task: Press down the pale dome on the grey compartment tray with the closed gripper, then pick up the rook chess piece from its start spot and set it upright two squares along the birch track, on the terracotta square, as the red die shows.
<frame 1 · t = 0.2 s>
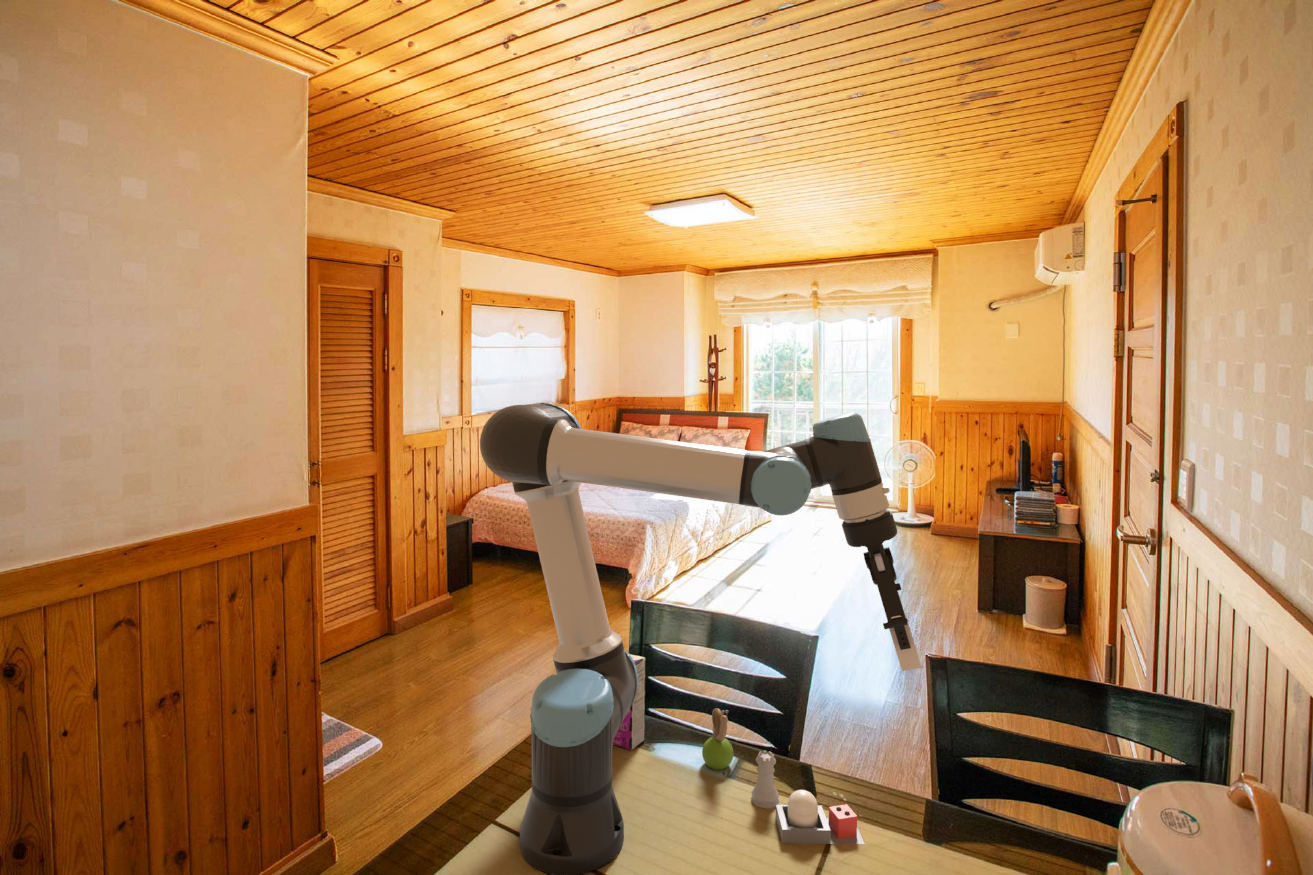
hand: (906, 650, 103), 27 cm above the table, tool tilted 20°, fingers open, 13 cm apart
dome: (802, 806, 102), point 4 cm above the table, slide at 0.0 cm
candy bar box: (613, 739, 130), on the table
game track: (821, 803, 110), on the table
snail figurine: (718, 770, 120), on the table
rook chess piece: (765, 803, 110), on the table
grey compartment tray: (818, 833, 103), on the table
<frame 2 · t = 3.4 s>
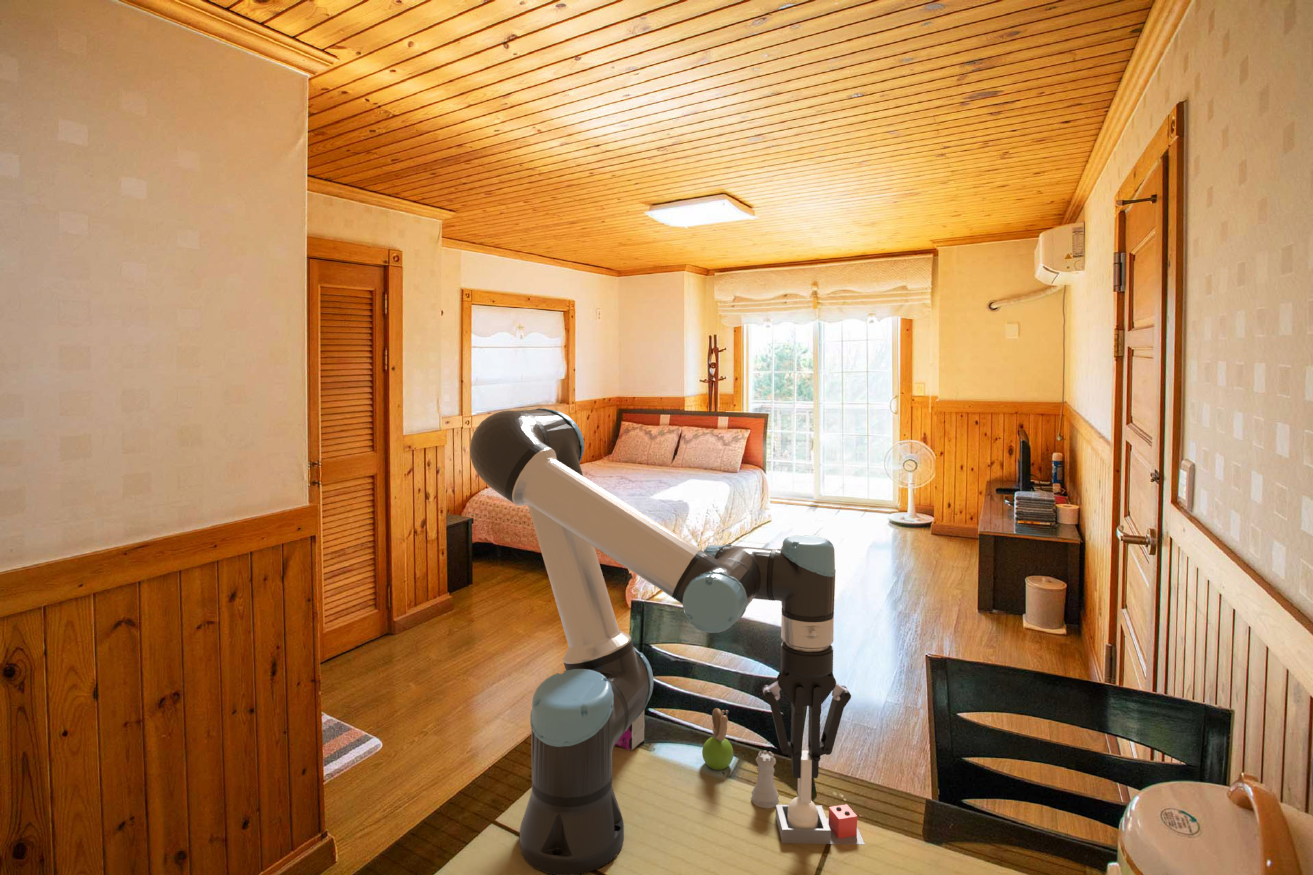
hand: (804, 797, 102), 6 cm above the table, tool pointing down, fingers closed
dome: (802, 812, 103), point 3 cm above the table, slide at 1.0 cm, touching gripper
everything else where it was.
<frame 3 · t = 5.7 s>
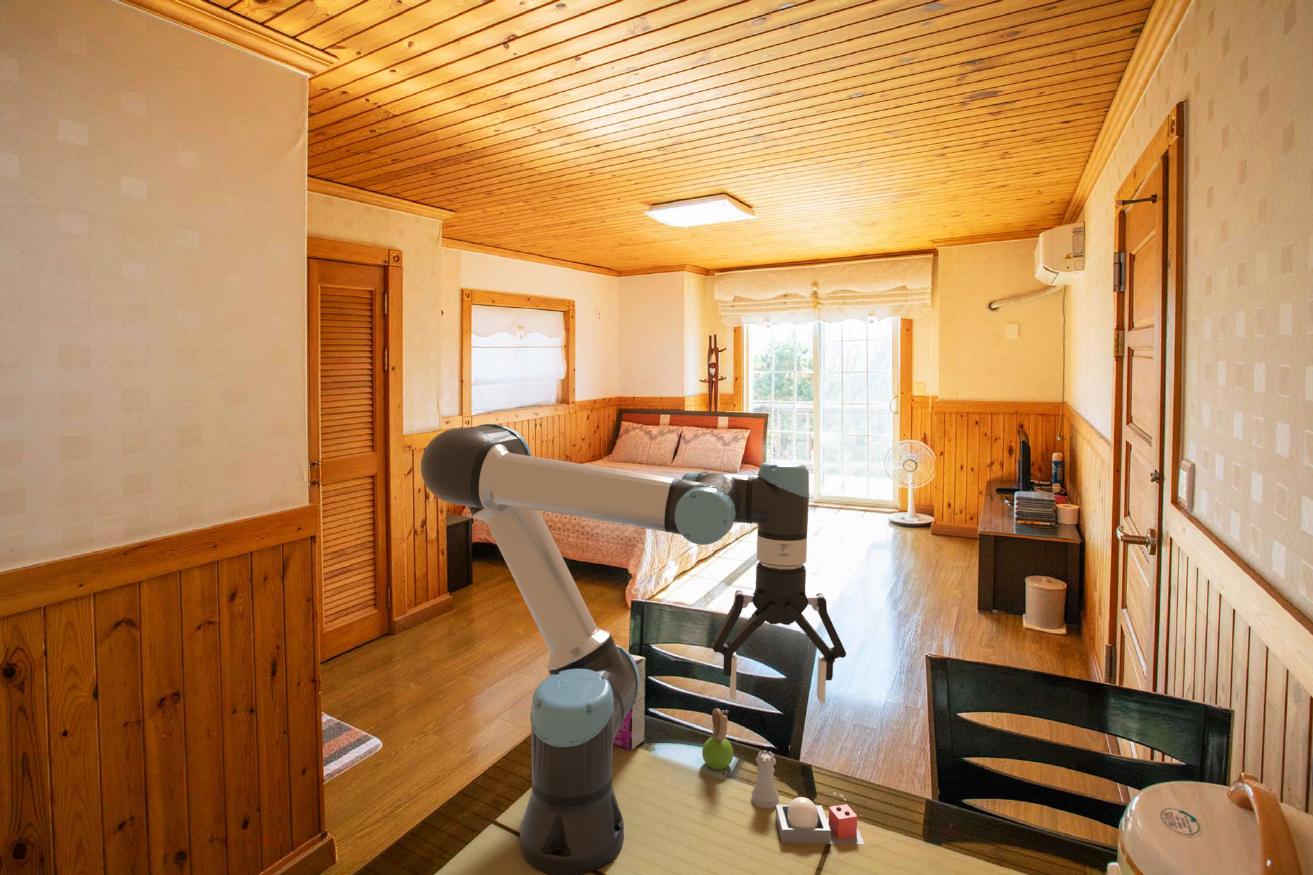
hand: (776, 697, 107), 18 cm above the table, tool pointing down, fingers open, 13 cm apart
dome: (802, 813, 103), point 3 cm above the table, slide at 1.1 cm
everything else where it was.
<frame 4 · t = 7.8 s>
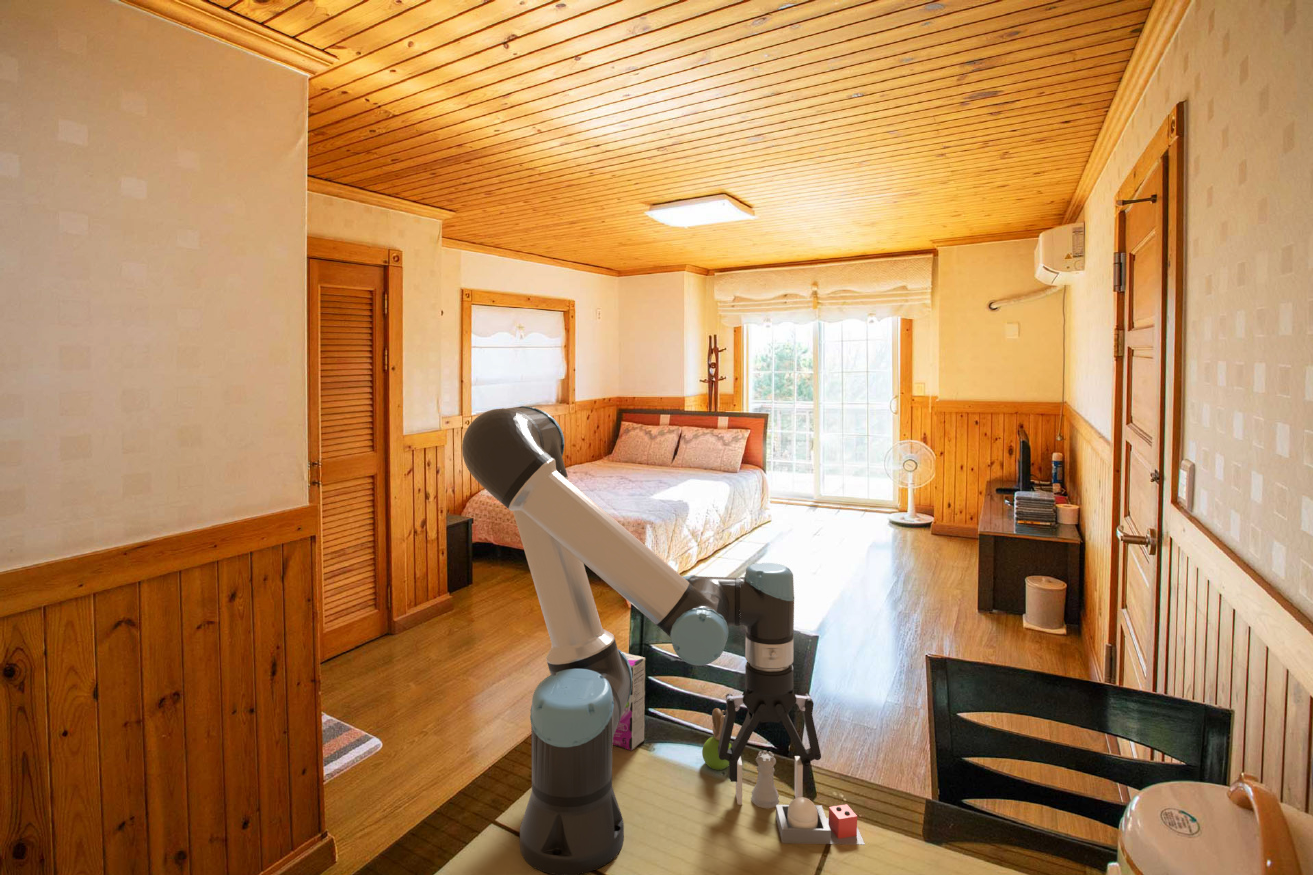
hand: (768, 799, 110), 1 cm above the table, tool pointing down, fingers open, 9 cm apart
nothing on the table moved.
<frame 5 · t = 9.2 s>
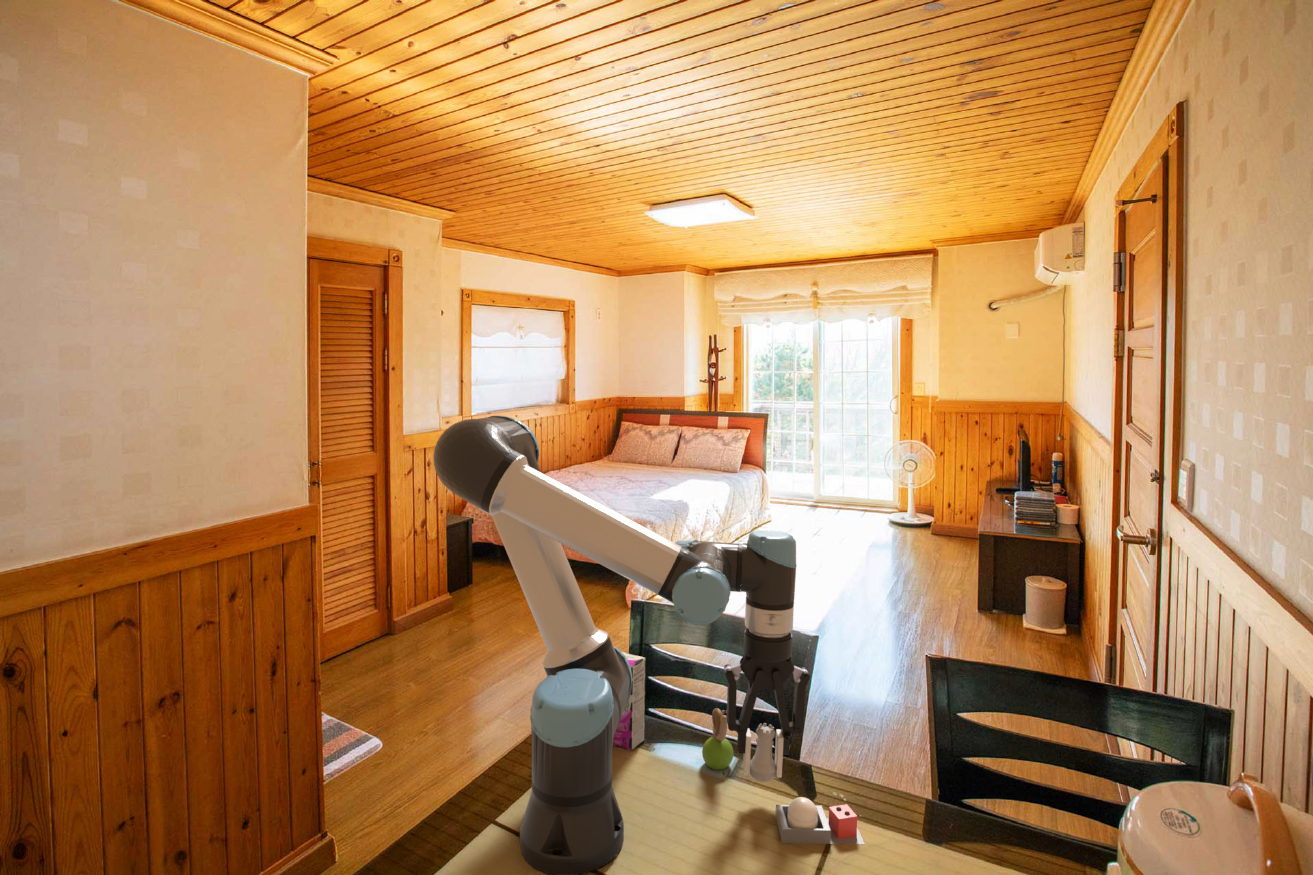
hand: (762, 771, 110), 5 cm above the table, tool pointing down, fingers closed on rook chess piece, 4 cm apart
rook chess piece: (761, 776, 110), point 4 cm above the table, touching gripper
everything else where it was.
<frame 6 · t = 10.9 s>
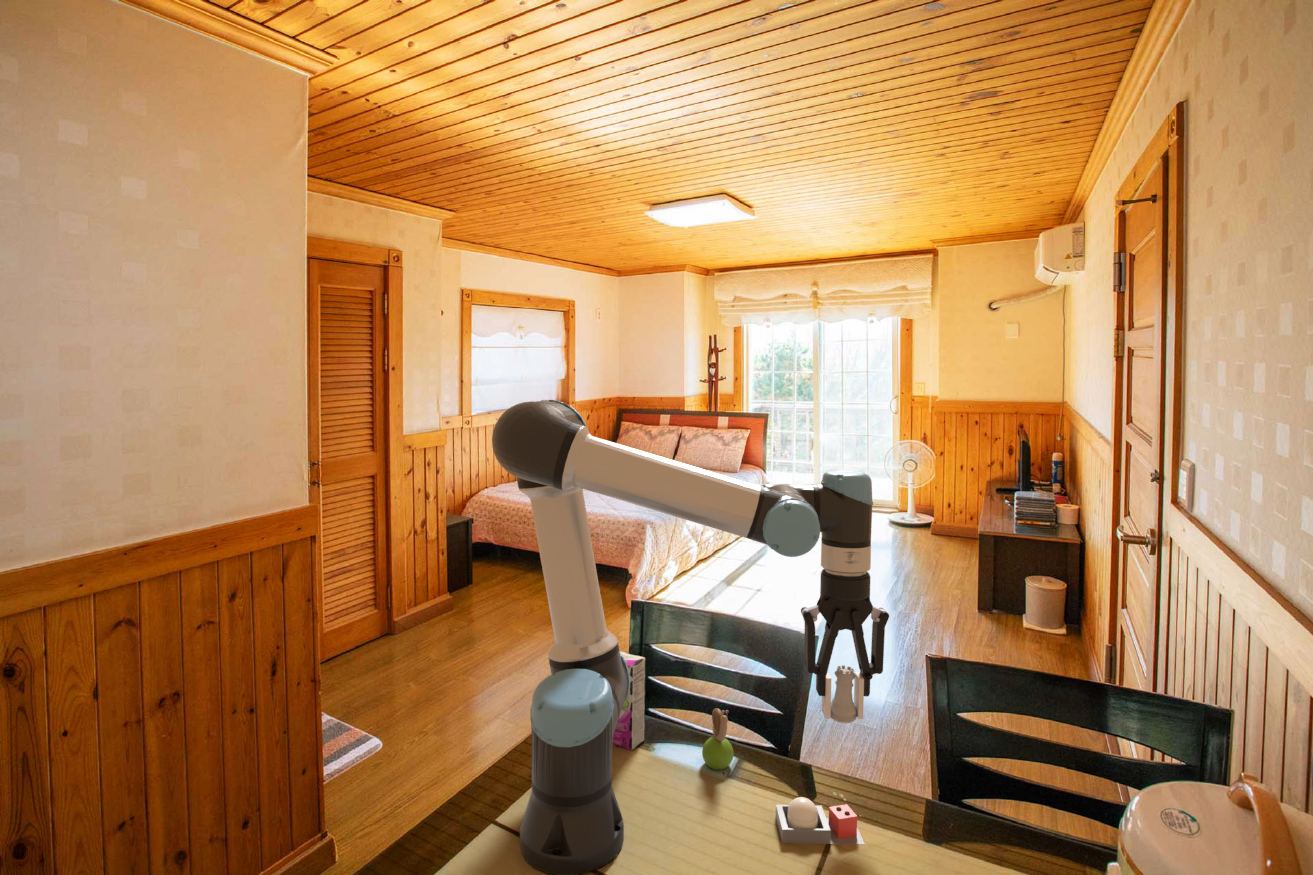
hand: (842, 714, 109), 15 cm above the table, tool pointing down, fingers closed on rook chess piece, 4 cm apart
rook chess piece: (841, 718, 109), point 14 cm above the table, touching gripper
everything else where it was.
when the fingers open (1 cm above the table, at t = 13.1 s): rook chess piece stays where it is, resting on game track.
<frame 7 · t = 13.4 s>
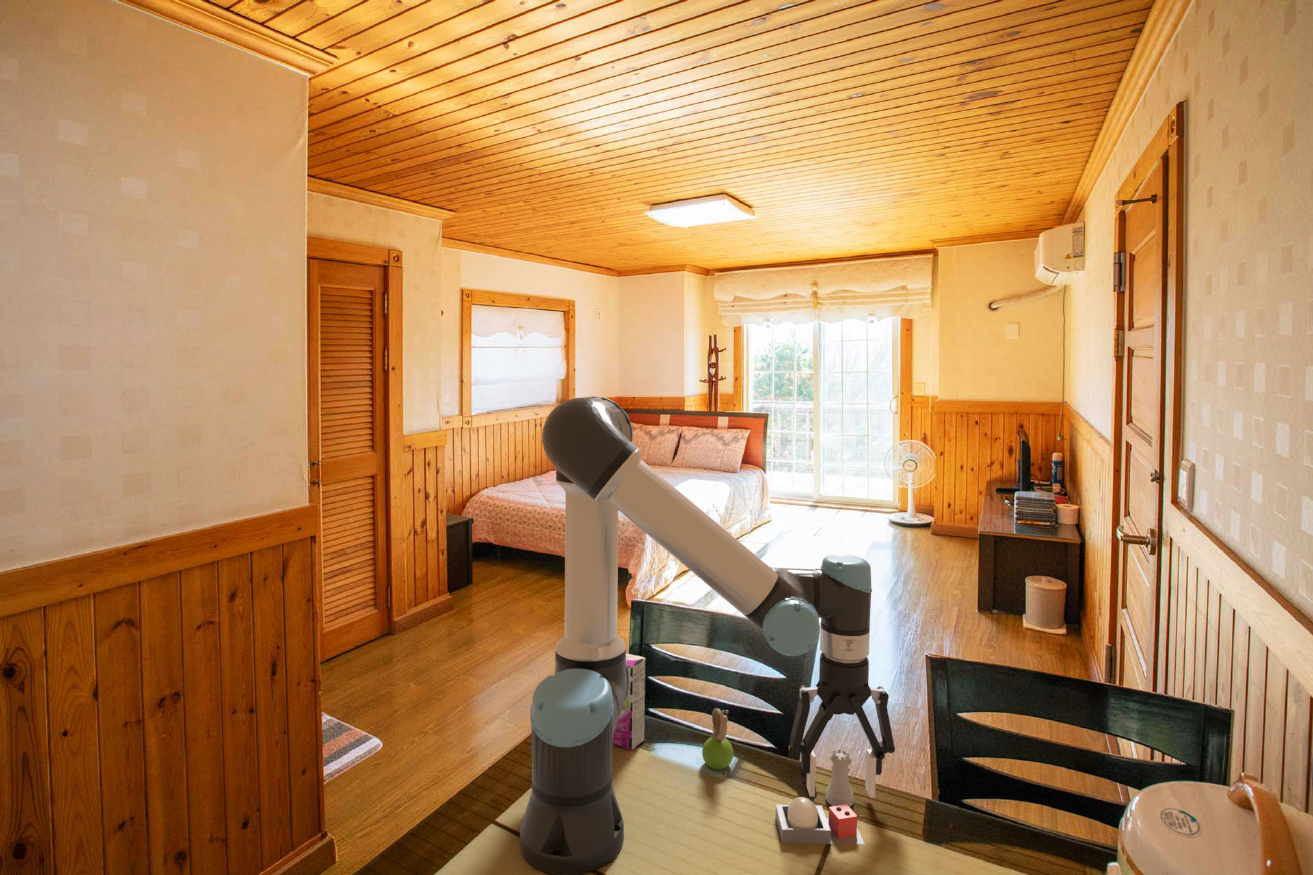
hand: (840, 791, 110), 2 cm above the table, tool pointing down, fingers open, 9 cm apart
rook chess piece: (839, 802, 110), resting on game track
everything else where it was.
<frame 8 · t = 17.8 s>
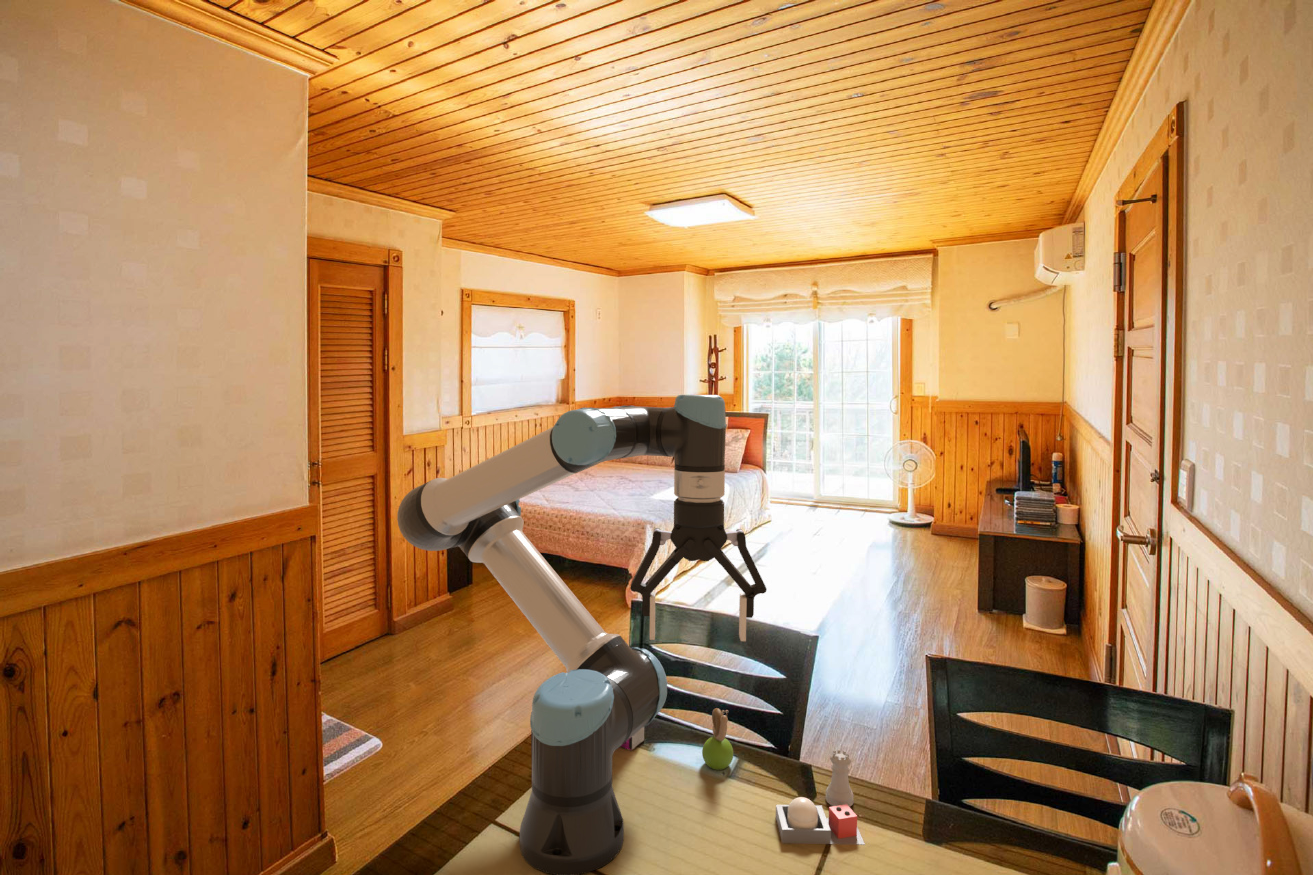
hand: (697, 637, 104), 29 cm above the table, tool pointing down, fingers open, 13 cm apart
nothing on the table moved.
at the end: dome slide at 1.1 cm; rook chess piece 0.1 cm from the target spot, resting on game track; rook chess piece tilted 0° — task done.
